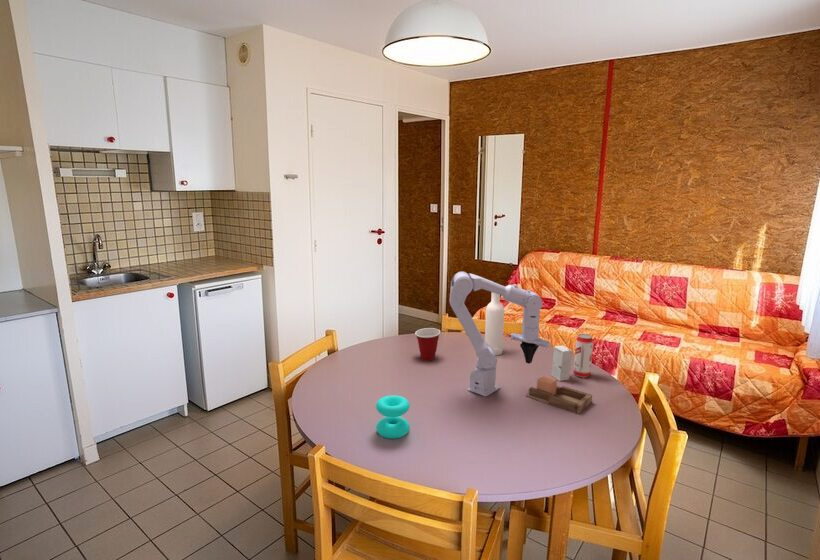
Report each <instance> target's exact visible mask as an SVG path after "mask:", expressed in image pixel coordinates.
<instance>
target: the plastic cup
mask: <svg viewBox="0 0 820 560" xmlns="http://www.w3.org/2000/svg"><path fill="white" fill-rule="evenodd" d="M414 335H415V337H416V339H417V343H418V349H419V353H420V358H421V360H423V361H428V360H429V361H433V360H435V358H436V352H437V348H438V343H439V337H440V335H441V330H440V329H438V328H434V327H424V328H420V329H417V330H416V331H415V333H414Z"/></svg>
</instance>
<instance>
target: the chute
mask: <svg viewBox="0 0 820 560" xmlns="http://www.w3.org/2000/svg"><path fill="white" fill-rule="evenodd" d="M525 397H526V398H529V399H532V400H535V401H539V402H541V403H544V404H547V405H551V406H552V407H553V406H554V407H556V408H560V409H562V410H565V411H569V412H571V413H574V412H575V413H574V414H576V415H579V414H581V412H583V411H584V410H585V409H586V408H588V406H590V405H591V404H592V402H593V394H591V393H587V392H584V391H581V390H577V389H574V388H570V387H567V386H564V385H563V386H558V385H557V389H556V394H555V395H554V396H552V393H549V392H546V391H542V390H539V389H537V387H533V386H532V387H529V389H528V393H527V394H526V395H525Z"/></svg>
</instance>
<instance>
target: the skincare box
mask: <svg viewBox="0 0 820 560" xmlns="http://www.w3.org/2000/svg"><path fill="white" fill-rule="evenodd" d="M552 355H553V356H552V364H551V366H552V367H551V376H552V378H554V379H557V381H559V382H565V381H568V380H570V373H571V366H572V356H573V350H572V349H570V348H569V347H567V346H565V345H563V344H562V345H555V346H554V347H553V354H552ZM564 380H565V381H564Z"/></svg>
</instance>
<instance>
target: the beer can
mask: <svg viewBox="0 0 820 560" xmlns="http://www.w3.org/2000/svg"><path fill="white" fill-rule="evenodd" d="M574 346H575V347H574V348H575V349H574V360H573V374H574V375H575V376H576V377H578V378H581V377H582V379H585V378H588V377H589V376H591V373H592V360H593V351H594V349H593V348H594V340H593V336H592V335H590V334H586V333H579V334H577V336H576V339H575V345H574Z"/></svg>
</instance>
